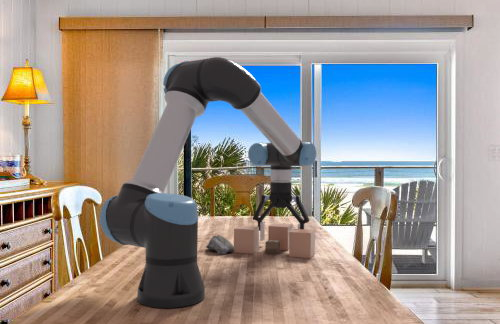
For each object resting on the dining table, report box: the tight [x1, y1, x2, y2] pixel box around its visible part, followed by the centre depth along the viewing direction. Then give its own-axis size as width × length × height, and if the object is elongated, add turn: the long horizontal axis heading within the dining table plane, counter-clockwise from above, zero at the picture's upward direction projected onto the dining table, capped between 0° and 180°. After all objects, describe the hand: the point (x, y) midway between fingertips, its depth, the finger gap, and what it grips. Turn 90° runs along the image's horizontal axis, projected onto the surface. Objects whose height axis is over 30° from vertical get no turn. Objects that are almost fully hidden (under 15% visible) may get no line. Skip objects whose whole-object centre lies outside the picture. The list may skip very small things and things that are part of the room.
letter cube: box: [264, 239, 281, 256], centre depth 157 cm, size 4×4×4 cm
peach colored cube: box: [233, 225, 260, 254], centre depth 160 cm, size 7×7×8 cm
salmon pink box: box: [288, 228, 316, 259], centre depth 154 cm, size 7×7×8 cm
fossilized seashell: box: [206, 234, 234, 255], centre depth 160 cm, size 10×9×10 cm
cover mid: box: [267, 222, 294, 251], centre depth 167 cm, size 7×7×8 cm
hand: (280, 241), depth 167 cm, fingers open, 13 cm apart
